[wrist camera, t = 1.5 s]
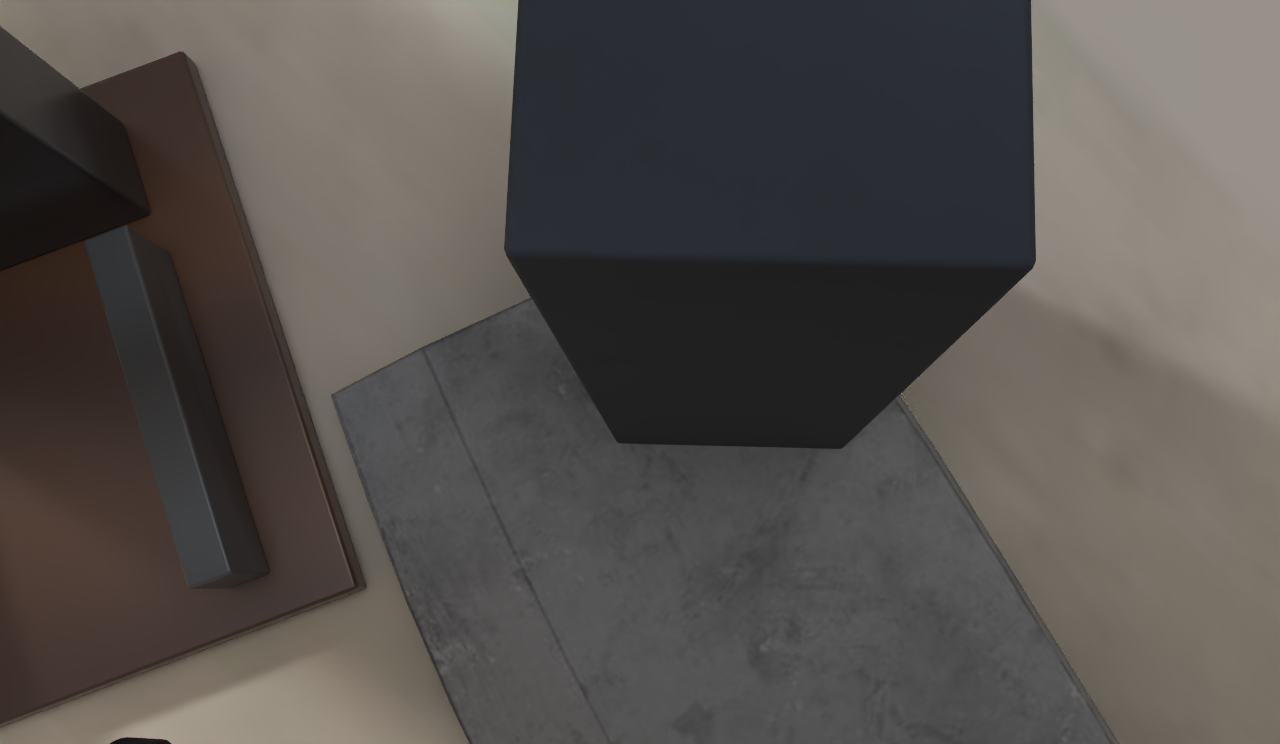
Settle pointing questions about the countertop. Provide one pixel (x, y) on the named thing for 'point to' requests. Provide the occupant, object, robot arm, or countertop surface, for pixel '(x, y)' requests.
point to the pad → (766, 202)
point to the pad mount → (141, 394)
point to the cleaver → (689, 570)
